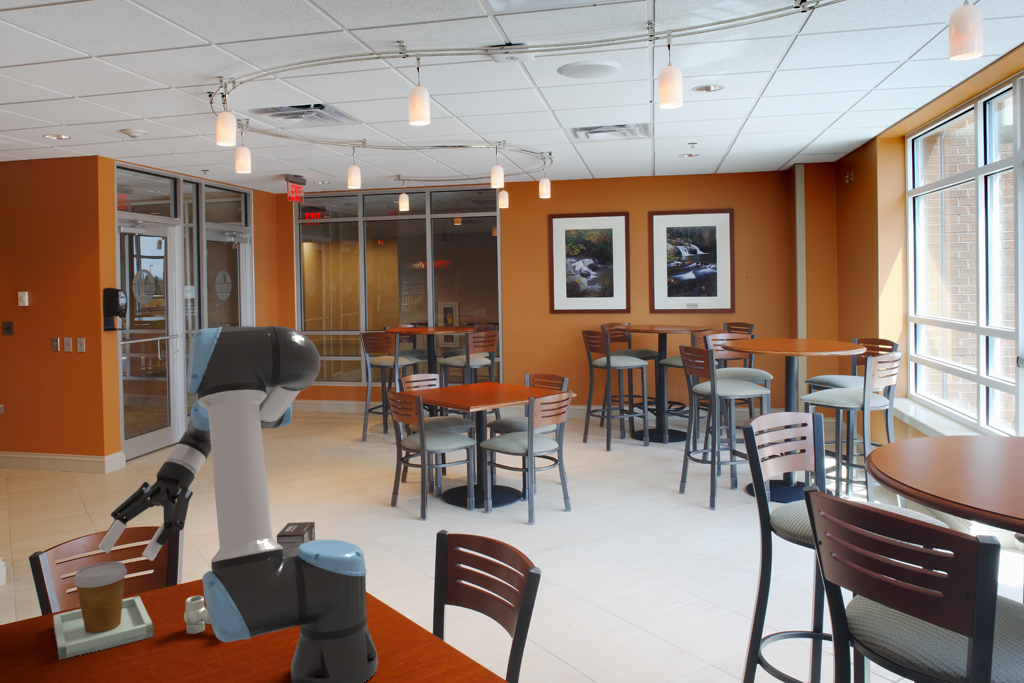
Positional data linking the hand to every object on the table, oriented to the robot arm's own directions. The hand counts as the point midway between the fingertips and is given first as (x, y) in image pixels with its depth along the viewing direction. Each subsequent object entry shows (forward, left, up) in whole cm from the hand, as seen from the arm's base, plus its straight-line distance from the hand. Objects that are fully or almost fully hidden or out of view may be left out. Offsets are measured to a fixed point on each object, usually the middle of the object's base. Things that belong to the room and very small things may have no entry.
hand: (124, 554), depth 149 cm
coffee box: (-11, -33, -14) cm, 38 cm away
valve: (-17, -13, -14) cm, 26 cm away
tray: (-3, +5, -14) cm, 15 cm away
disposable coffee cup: (-3, +5, -13) cm, 15 cm away
